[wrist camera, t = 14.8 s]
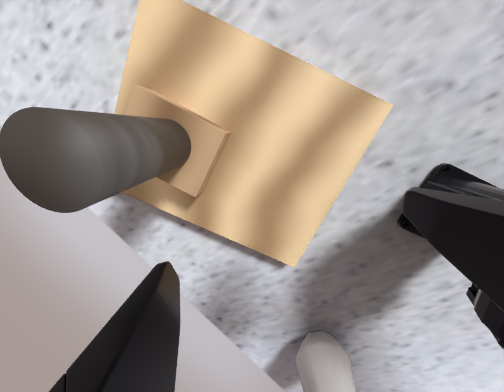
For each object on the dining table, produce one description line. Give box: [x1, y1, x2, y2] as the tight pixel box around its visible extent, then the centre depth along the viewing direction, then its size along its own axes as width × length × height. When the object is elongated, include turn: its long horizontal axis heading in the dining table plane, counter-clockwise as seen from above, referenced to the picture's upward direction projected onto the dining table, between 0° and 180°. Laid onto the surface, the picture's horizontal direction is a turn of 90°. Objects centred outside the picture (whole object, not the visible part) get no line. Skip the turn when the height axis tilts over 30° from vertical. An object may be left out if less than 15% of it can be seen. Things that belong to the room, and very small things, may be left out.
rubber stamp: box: [0, 84, 231, 213], centre depth 13 cm, size 7×6×12 cm
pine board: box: [115, 0, 393, 267], centre depth 19 cm, size 20×16×2 cm
